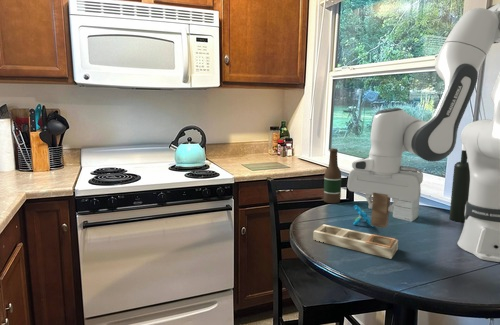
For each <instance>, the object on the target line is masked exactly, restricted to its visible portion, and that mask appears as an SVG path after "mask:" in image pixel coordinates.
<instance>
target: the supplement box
mask: <svg viewBox="0 0 500 325" xmlns="http://www.w3.org/2000/svg"><path fill="white" fill-rule="evenodd" d="M420 198H421V197H420ZM420 198H419V199H418V200H417V201H408V200H402V199H399V201H398V202H397V203H396V205H395V206H394V211H393V213H392V218H393V219H394V218H395V219H398V220H402V221H408V222H411V223H412V222H413V221H415V220H416V219H418V218H419V210H420Z"/></svg>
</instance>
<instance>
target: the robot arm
mask: <svg viewBox="0 0 500 325" xmlns="http://www.w3.org/2000/svg"><path fill="white" fill-rule="evenodd" d="M498 43H500V2H497V3H496V4H493V5H490V6H488V7H487V8H484V7H483V8H482V7H476V8H471V9H469V10H467V11H466V12H464V13H463V14H462V15H461V17H459V19H458V20H457V22H456V23H455V25H454V26H453V28H452V29H451V30H450V32H449V33H448V36H447V37H446V39H445V41H444V42H443V44H442V46H441V48H440V50H439V52H438V55H437V57H436V61H435V64H434V68H435V71H436V74H437V75H438V76H439V78H440V79H441V80H442V81H443V82H444V90H443V93H442V95H441V98H440V100H439V102H438V104H437V107H436V109H435V111H434V114H433V115H432V117H431V118H430V119H429V120H428V121H426V120H422V119H419V118H417V117H415V116H412V115H411V114H409V113H407V112H406V111H405V110H404V109H403V108H400V107H393V108H383V109H381V110H378V111H377V112H376V113H375V114H374V115H373V118H372V123H371V130H370V137H369V138H370V145H371V146H370V150H369V152H368V157H364V158H358V159H356V160H354V161H353V162H352V164H351V168H352V169H351V170H350V171H349V174H348V179H347V184H346V186H347V189H348V191H349V192H353V193H354V192H356V193H360V194H364V196H365V199H366V201H367V203H368V209H370V210H372V204H373V198H372V197H373V193H378V194H385V195H388V197H390V199H391V202H393V203H392V204H390V205H388V206H387V209H388V210H387V212H389V213H392V214H393V211H394V206H395V205H396V203H397V202H398V201H399V199H402V200H408V201H417V200H418V199H419V198H421V187H422V186H421V184H422V183H423V181H424V180H423V179H424V173H423V172H422V171H421V170H420V169H419V168H418V167H417V168H416V167H408V166H402V158H403V157H402V156H403V153H404V152H408V153H410V154H412V155H415V156H417V157H419V158H421V159H423V160H424V161H426V162H427V161H428V162H438V161H442V160H444V159H446V158H448V156H449V155H451V153H452V152H453V151H454V149H455V148H456V144H457V138H458V131H459V126H460V123H461V121H462V119H463V116H464V114H465V112H466V109H467V107H468V105H469V103H470V101H471V98H472V96H473V94H474V91H475V88H476V86H477V82H478V77H479V72H480V69H481V67H482V65H483V63H484V61H485V59H486V57H487V55H488V53H489V51H490V50H491V48H492V46H493V44H498ZM490 100H491V101H492V103H493V115H492V116H493V117H492V119H489V118H488V119H479V120H475V121H472V122H469V123H468V124H466V125H465V126H464V127H463V129H462V130H461V132H460V141H461V145H462V144H463V146H464V147H465V149H466V153H467V162H468V164H469V170H470V186H469V197H468V200H467V202H466V205H465V215H464V216H465V222H463V227H462V231H461V234H460V236H459V239H458V240H457V245H458V247H459V248H460V249H462V250H463V251H465V252H468V253H471V254H472V255H474V256H475V257H477V258H478V259H480V260H484V261H488V262H497V263H500V71H499V72H498V75H497V77H496V80H495V82H494V85H493V88H492V91H491V93H490ZM419 200H420V199H419Z"/></svg>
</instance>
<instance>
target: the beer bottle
mask: <svg viewBox="0 0 500 325" xmlns="http://www.w3.org/2000/svg"><path fill="white" fill-rule="evenodd" d="M338 152H339V150H338V148H329V161H328V167H327V168H326V170H325V172H324V176H323V178H324V180H323V202H324V203H327V204H340V202H341V196H342V193H341V192H342V172H341V171H342V170H340V168H339V165H338Z"/></svg>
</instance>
